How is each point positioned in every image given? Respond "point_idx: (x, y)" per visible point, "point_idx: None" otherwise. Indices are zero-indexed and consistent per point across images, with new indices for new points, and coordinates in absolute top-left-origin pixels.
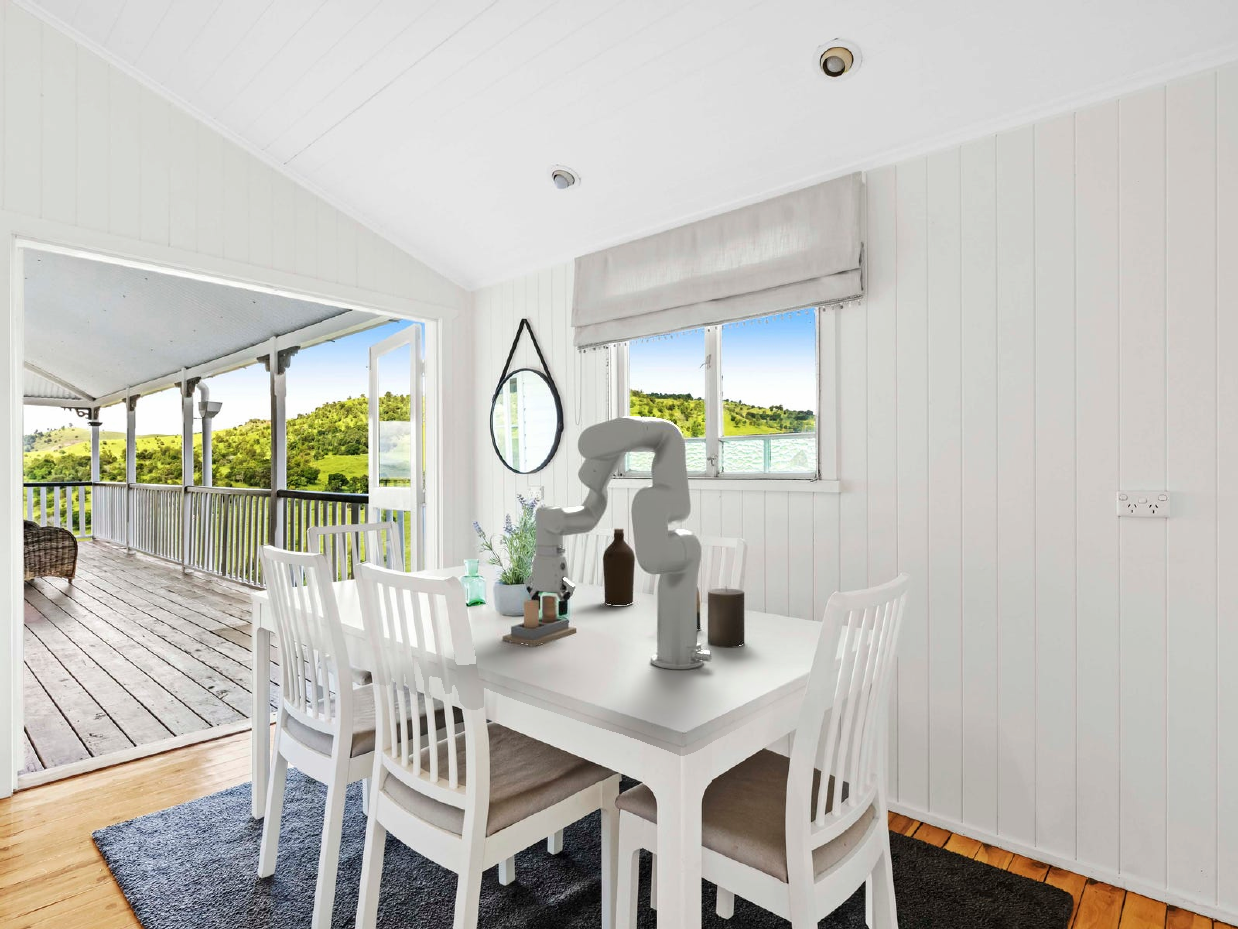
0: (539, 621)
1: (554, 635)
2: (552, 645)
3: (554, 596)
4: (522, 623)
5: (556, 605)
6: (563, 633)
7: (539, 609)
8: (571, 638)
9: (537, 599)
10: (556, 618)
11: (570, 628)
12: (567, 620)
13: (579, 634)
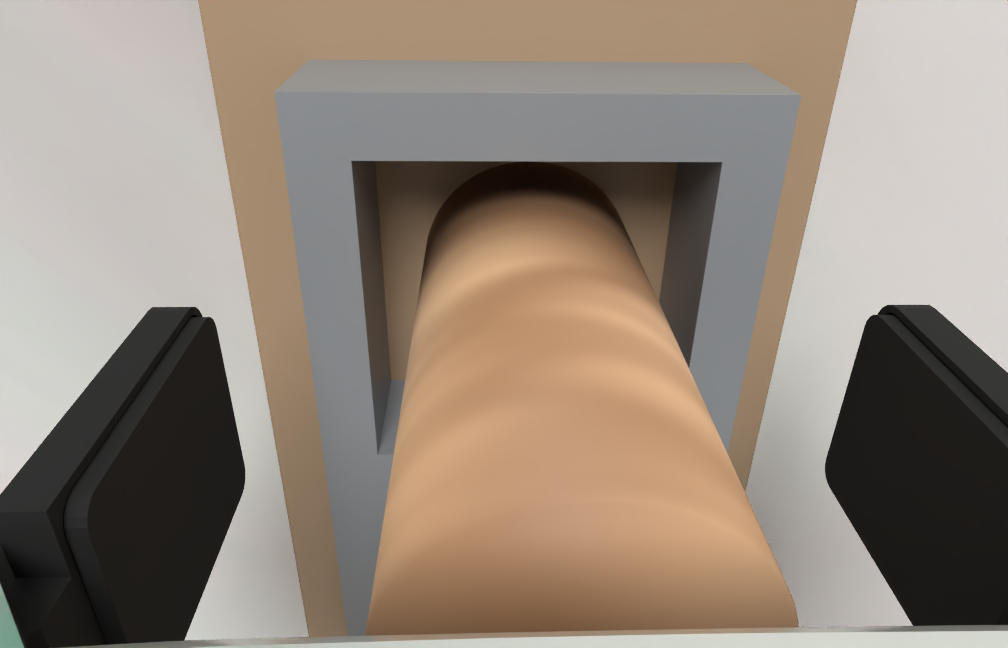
0: (374, 352)
1: (756, 440)
2: (818, 541)
3: (693, 579)
4: (353, 611)
5: (717, 432)
6: (787, 285)
7: (215, 338)
8: (892, 264)
9: (146, 559)
10: (654, 292)
11: (781, 54)
12: (788, 122)
13: (918, 40)
